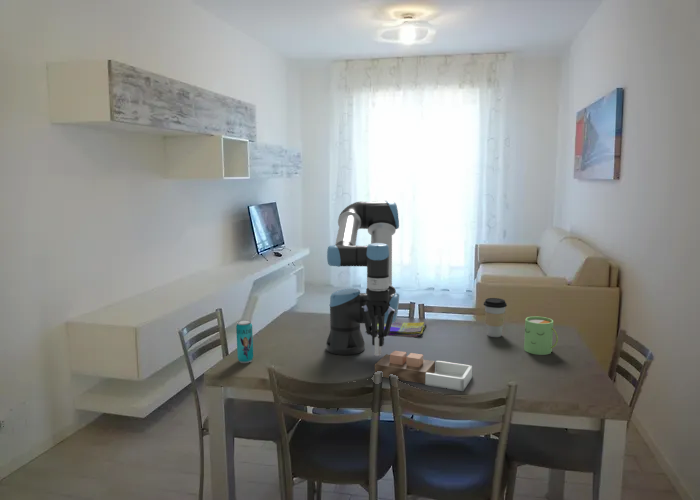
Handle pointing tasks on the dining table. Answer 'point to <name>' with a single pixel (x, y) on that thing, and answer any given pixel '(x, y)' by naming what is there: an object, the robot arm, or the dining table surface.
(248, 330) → the beverage can
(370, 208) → the robot arm
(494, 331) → the coffee cup
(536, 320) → the mug
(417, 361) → the tile
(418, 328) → the dish towel
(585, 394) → the dining table surface
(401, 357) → the salmon pink block
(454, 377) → the tray
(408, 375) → the board
